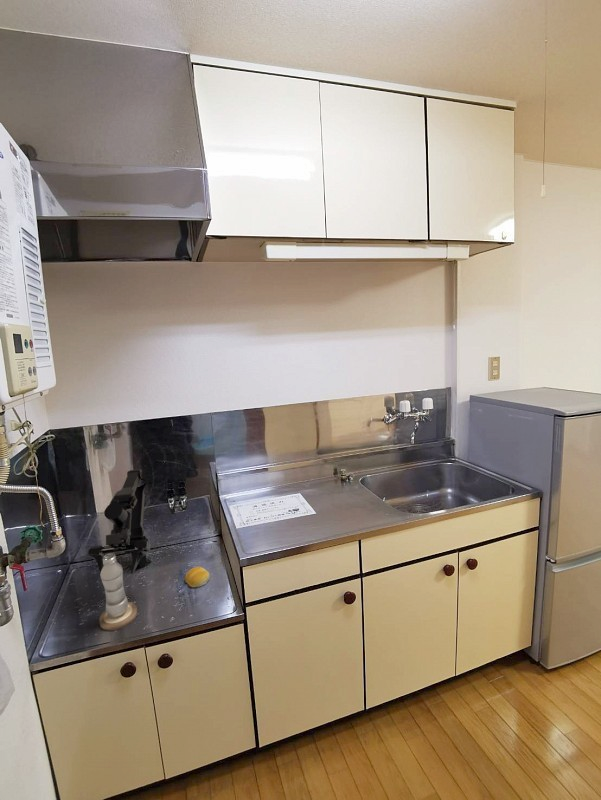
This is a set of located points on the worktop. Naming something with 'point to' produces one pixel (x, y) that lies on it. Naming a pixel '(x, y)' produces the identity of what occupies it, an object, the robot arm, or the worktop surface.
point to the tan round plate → (118, 618)
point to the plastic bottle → (113, 586)
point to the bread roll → (197, 577)
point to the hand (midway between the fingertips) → (117, 576)
